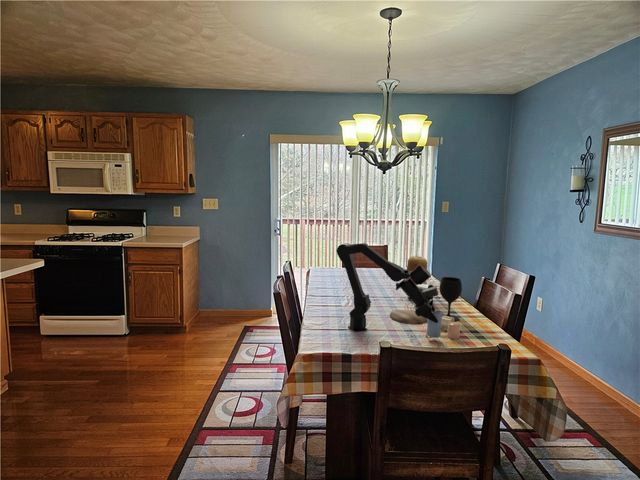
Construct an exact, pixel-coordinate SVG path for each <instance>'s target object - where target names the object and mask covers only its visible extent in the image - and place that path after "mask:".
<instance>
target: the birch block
mask: <svg viewBox="0 0 640 480" xmlns="http://www.w3.org/2000/svg"><path fill="white" fill-rule="evenodd" d="M449 322H454V318H453V317H448V316H442V323H441V330H444V331H448V323H449Z"/></svg>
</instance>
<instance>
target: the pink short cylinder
mask: <svg viewBox="0 0 640 480" xmlns="http://www.w3.org/2000/svg"><path fill="white" fill-rule="evenodd" d="M446 331H447V330H446ZM460 335H461V324H460V323H459V322H457V321H456V322H449V323H448V331H447V333H446V338H448V339H450V340H459V339H460V337H461V336H460Z"/></svg>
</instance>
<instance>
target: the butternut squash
mask: <svg viewBox="0 0 640 480" xmlns="http://www.w3.org/2000/svg"><path fill="white" fill-rule="evenodd" d="M419 264H420V265H421V266H423V267H424V268H425V269H427V270H428V261H427V258H425V257H423V256H419V255H418V256H417V255H412V256H410V257H409V258H408V259H407V266H406V270H408V271H413V270H414V269H415V268H417V266H418V265H419ZM410 277H411V276H409V277H408V278H407V279H409V278H410ZM407 279H405V280H407ZM411 280H412V279H411ZM412 281H413V280H412ZM413 282H414V281H413ZM414 283H415V282H414ZM415 284H416V283H415ZM422 284H427V285H428V283H427V280H426V281H425V282H424V283H422ZM416 285H419V284H416Z"/></svg>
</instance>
